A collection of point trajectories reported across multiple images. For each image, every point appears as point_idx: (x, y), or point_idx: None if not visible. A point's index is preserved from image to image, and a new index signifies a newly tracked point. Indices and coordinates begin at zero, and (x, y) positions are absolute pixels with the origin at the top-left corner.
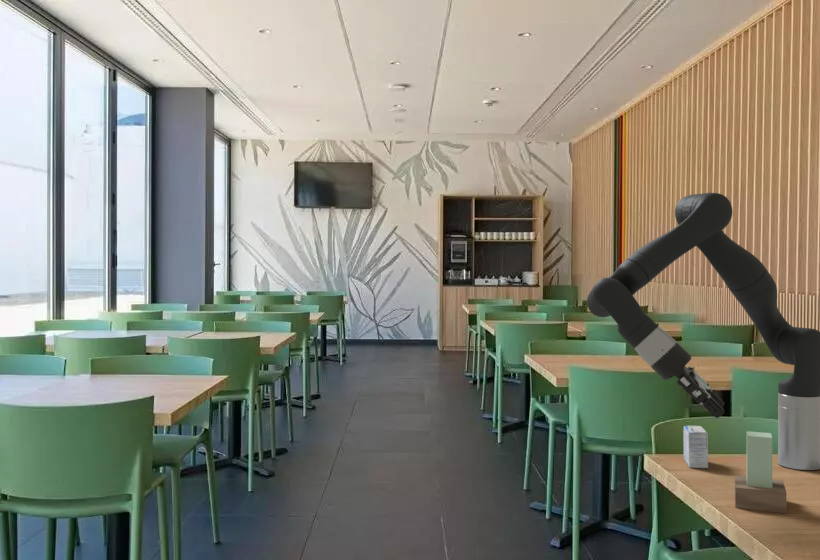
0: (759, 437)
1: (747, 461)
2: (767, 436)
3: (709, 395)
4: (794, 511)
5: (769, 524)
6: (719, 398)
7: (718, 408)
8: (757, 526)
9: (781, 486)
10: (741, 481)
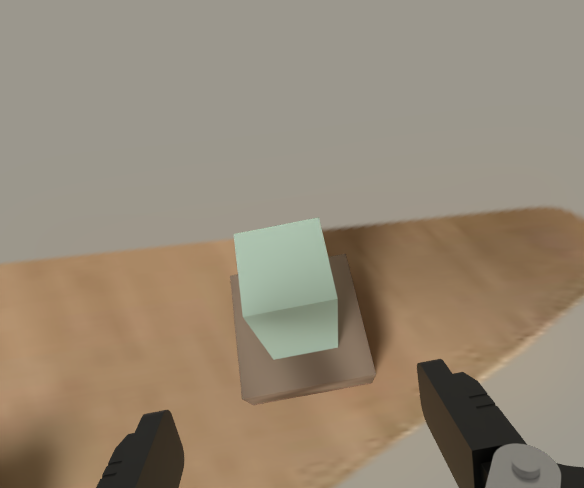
0: (327, 257)
1: (337, 327)
2: (302, 234)
3: (529, 459)
4: None
5: (449, 293)
6: (139, 445)
7: (481, 388)
8: (484, 313)
9: None
10: (299, 369)
